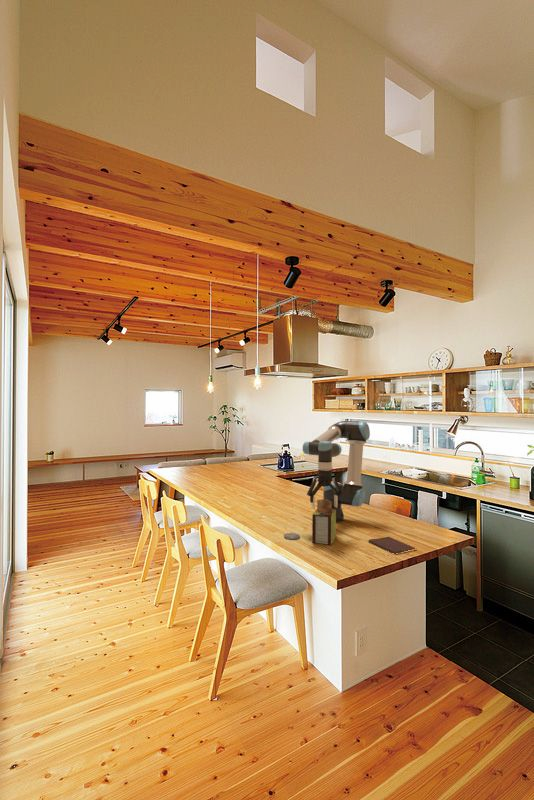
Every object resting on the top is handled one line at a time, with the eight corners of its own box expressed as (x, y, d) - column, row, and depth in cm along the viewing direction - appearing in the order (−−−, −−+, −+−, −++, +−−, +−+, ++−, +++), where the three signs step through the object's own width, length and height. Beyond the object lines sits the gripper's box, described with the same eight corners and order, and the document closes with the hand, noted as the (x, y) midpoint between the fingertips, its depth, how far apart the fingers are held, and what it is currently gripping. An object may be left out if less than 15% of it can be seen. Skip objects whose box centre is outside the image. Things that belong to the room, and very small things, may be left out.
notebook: (389, 539, 222) (389, 535, 222) (416, 551, 204) (416, 547, 204) (368, 543, 215) (368, 539, 215) (394, 556, 197) (394, 552, 197)
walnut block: (327, 509, 222) (327, 499, 222) (331, 512, 216) (331, 501, 216) (317, 510, 220) (317, 499, 220) (321, 513, 215) (321, 502, 215)
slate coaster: (296, 533, 227) (296, 532, 227) (302, 539, 218) (302, 537, 218) (281, 535, 225) (281, 533, 225) (286, 540, 216) (286, 539, 216)
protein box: (335, 536, 224) (336, 509, 224) (331, 545, 209) (331, 516, 209) (317, 534, 227) (317, 507, 227) (311, 543, 213) (312, 514, 213)
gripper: (342, 467, 226) (341, 504, 226) (301, 469, 219) (300, 507, 219) (348, 469, 218) (348, 508, 218) (306, 471, 212) (306, 511, 211)
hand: (324, 507), depth 218 cm, fingers open, 13 cm apart
